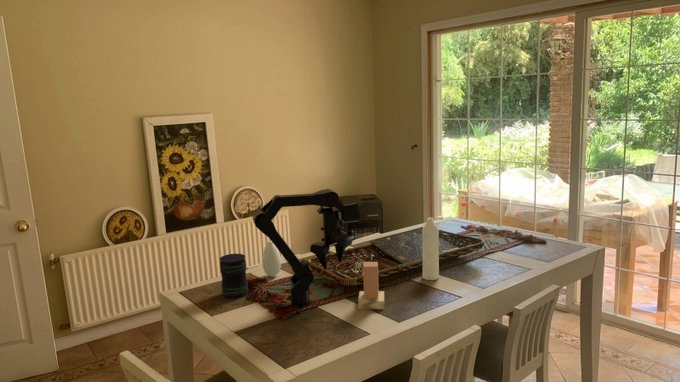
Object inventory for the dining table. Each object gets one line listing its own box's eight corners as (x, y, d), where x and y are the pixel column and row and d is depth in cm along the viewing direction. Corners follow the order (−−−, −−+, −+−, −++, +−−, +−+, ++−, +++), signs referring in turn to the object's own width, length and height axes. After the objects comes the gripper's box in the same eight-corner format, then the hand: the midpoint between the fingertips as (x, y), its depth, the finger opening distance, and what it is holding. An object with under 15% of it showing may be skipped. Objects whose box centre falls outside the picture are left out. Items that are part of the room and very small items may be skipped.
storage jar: (252, 290, 198) (249, 254, 196) (241, 300, 189) (238, 262, 186) (229, 288, 201) (226, 253, 198) (217, 298, 192) (214, 261, 189)
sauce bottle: (260, 279, 210) (257, 237, 207) (267, 272, 218) (264, 232, 214) (278, 280, 208) (275, 238, 205) (284, 273, 216) (281, 233, 213)
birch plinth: (358, 309, 177) (358, 301, 176) (359, 298, 186) (359, 291, 185) (383, 309, 176) (383, 301, 175) (384, 298, 185) (384, 291, 184)
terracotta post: (364, 298, 178) (363, 266, 176) (364, 293, 183) (363, 261, 181) (378, 298, 178) (377, 266, 175) (378, 293, 182) (377, 261, 180)
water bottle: (427, 281, 200) (426, 220, 195) (419, 276, 206) (419, 217, 201) (446, 278, 203) (446, 218, 198) (438, 273, 209) (438, 214, 204)
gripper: (333, 233, 169) (335, 277, 172) (363, 220, 184) (365, 261, 187) (308, 229, 176) (310, 271, 179) (339, 217, 191) (340, 257, 194)
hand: (332, 265), depth 184 cm, fingers open, 9 cm apart
